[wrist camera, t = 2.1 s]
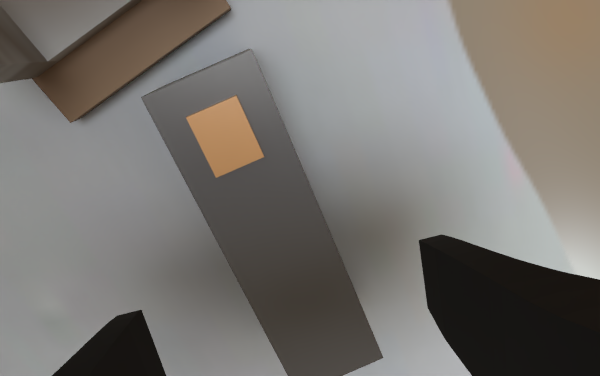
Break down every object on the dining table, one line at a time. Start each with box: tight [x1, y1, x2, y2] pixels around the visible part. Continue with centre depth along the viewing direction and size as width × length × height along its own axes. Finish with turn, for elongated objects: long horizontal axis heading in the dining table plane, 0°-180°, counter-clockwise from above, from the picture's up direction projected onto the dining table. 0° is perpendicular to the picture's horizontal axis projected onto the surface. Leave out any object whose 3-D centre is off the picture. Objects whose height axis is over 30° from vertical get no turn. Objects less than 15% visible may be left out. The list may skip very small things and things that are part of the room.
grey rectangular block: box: [141, 49, 383, 376], centre depth 17 cm, size 12×4×5 cm, turn 23°
